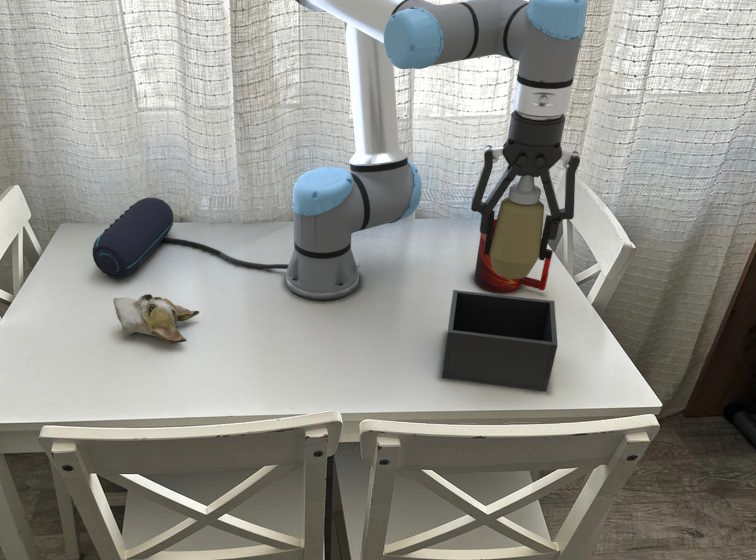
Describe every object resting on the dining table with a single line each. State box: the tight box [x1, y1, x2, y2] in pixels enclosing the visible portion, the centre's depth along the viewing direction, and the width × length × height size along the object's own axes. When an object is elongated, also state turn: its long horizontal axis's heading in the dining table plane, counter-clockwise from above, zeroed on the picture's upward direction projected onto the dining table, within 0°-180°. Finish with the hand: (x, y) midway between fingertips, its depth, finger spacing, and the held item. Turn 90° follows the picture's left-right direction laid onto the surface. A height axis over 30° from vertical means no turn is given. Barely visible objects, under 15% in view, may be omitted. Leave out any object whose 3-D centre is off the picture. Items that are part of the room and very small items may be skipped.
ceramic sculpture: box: [112, 293, 200, 344], centre depth 135 cm, size 11×9×15 cm
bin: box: [441, 289, 559, 393], centre depth 126 cm, size 18×14×10 cm
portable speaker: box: [92, 197, 174, 279], centre depth 159 cm, size 25×10×10 cm, turn 164°
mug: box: [473, 218, 554, 294], centre depth 147 cm, size 10×14×12 cm
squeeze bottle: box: [489, 175, 545, 279], centre depth 112 cm, size 8×8×18 cm
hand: (513, 253), depth 116 cm, fingers closed on squeeze bottle, 8 cm apart
